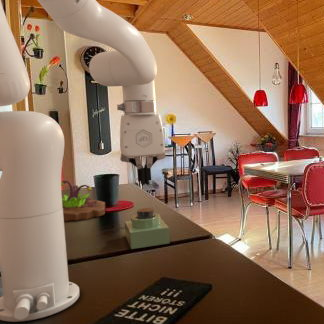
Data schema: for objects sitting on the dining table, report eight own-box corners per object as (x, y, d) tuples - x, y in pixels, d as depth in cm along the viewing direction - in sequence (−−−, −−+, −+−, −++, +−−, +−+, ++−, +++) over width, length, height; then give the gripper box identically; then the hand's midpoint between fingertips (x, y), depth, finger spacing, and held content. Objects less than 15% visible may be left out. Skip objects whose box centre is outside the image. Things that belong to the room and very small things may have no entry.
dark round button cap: (155, 218, 95) (155, 210, 95) (138, 220, 93) (138, 212, 93) (152, 215, 99) (152, 207, 98) (136, 217, 97) (135, 209, 97)
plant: (44, 210, 131) (41, 177, 130) (105, 204, 138) (103, 173, 136) (33, 225, 113) (29, 187, 111) (104, 218, 119) (102, 182, 118)
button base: (169, 243, 94) (168, 219, 93) (131, 249, 90) (129, 224, 89) (160, 231, 104) (159, 209, 103) (125, 236, 100) (124, 213, 99)
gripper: (108, 109, 87) (114, 189, 89) (174, 108, 93) (178, 183, 95) (105, 109, 93) (111, 184, 96) (167, 108, 99) (171, 178, 102)
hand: (144, 183), depth 95 cm, fingers closed
